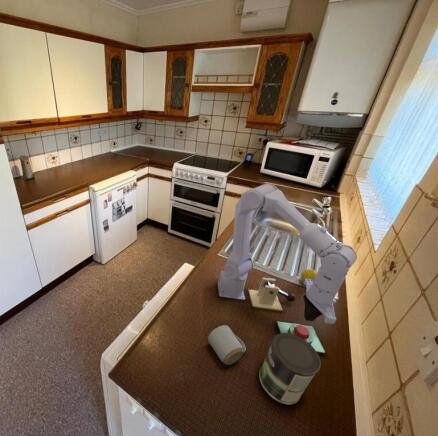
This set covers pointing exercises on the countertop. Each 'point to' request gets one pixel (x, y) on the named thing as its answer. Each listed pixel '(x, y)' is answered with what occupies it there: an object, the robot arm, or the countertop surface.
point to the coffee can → (288, 368)
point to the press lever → (288, 296)
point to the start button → (301, 331)
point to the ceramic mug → (226, 344)
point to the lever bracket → (266, 296)
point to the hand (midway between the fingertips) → (308, 318)
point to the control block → (311, 338)
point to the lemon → (308, 275)
